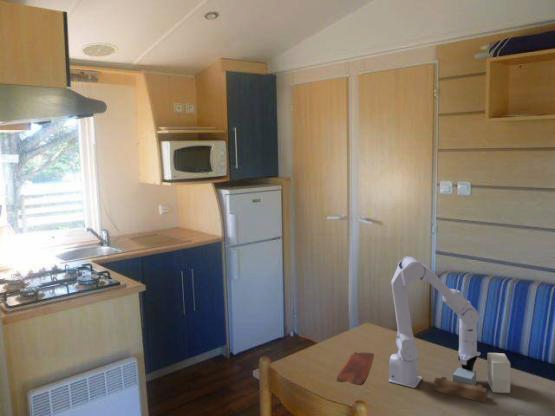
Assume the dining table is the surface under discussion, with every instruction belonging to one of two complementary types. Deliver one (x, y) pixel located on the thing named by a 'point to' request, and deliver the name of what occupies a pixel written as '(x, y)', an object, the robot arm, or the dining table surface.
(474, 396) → the rail
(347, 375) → the wooden tablet
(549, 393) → the dining table surface
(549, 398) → the dining table surface
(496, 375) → the small box
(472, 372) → the block
